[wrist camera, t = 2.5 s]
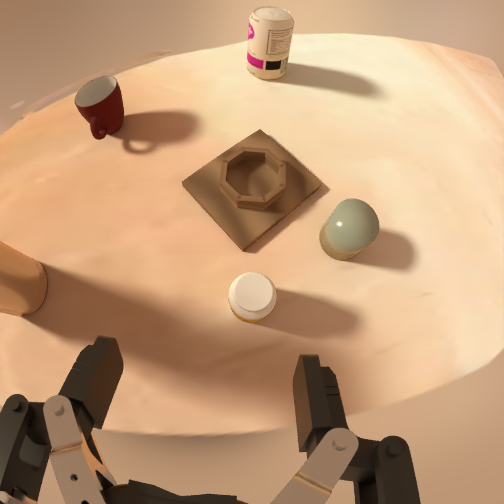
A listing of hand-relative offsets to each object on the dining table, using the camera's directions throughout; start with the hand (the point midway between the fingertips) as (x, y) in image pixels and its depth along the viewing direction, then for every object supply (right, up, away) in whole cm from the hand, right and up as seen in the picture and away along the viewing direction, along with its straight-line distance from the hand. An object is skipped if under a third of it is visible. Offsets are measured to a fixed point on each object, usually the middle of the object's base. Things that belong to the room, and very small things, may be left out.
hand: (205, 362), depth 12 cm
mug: (-24, +27, +35) cm, 51 cm away
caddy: (+2, +15, +32) cm, 35 cm away
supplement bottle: (+2, -2, +27) cm, 27 cm away
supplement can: (+5, +43, +41) cm, 60 cm away
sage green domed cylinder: (+15, +7, +30) cm, 34 cm away
